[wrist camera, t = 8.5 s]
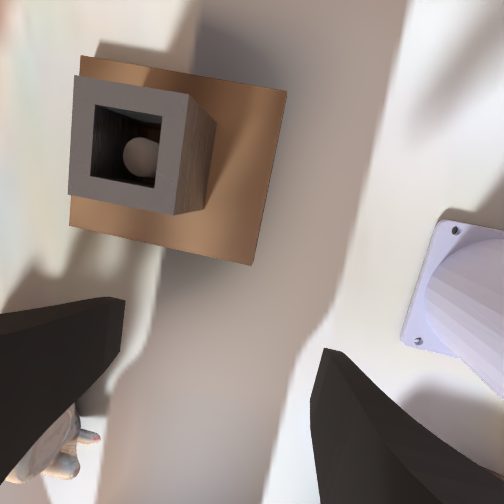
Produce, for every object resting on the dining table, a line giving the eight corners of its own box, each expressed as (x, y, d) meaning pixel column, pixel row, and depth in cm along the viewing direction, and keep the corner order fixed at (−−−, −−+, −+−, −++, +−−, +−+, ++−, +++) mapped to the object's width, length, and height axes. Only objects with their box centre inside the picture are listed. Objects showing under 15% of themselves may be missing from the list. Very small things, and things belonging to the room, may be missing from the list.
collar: (217, 122, 17) (188, 94, 12) (204, 209, 18) (173, 215, 13) (133, 107, 18) (74, 74, 13) (125, 194, 19) (67, 194, 14)
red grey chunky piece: (-74, 293, 20) (-208, 438, 10) (108, 293, 26) (133, 385, 16) (-72, 435, 22) (-179, 661, 13) (94, 405, 28) (108, 544, 19)
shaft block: (286, 96, 17) (286, 64, 13) (253, 262, 20) (243, 282, 15) (91, 62, 18) (29, 21, 14) (79, 224, 20) (22, 232, 16)
